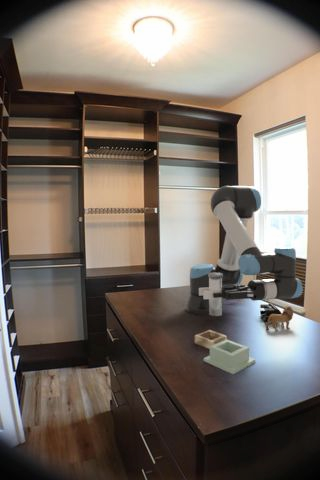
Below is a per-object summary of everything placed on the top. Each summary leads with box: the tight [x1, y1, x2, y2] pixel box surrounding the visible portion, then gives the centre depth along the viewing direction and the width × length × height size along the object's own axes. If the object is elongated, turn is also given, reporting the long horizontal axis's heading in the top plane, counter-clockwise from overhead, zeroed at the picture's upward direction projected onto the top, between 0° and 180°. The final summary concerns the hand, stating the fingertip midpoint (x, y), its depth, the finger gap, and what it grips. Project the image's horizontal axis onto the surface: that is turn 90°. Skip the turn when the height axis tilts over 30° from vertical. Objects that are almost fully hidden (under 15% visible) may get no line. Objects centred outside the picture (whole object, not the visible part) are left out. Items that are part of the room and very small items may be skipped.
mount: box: [194, 329, 228, 350], centre depth 121 cm, size 9×9×3 cm
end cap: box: [259, 302, 283, 324], centre depth 147 cm, size 10×7×7 cm
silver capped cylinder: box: [208, 272, 223, 317], centre depth 116 cm, size 5×5×15 cm
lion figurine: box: [265, 305, 294, 332], centre depth 135 cm, size 15×5×9 cm, turn 117°
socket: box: [203, 339, 256, 375], centre depth 106 cm, size 12×12×5 cm
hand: (201, 293), depth 115 cm, fingers closed on silver capped cylinder, 5 cm apart
